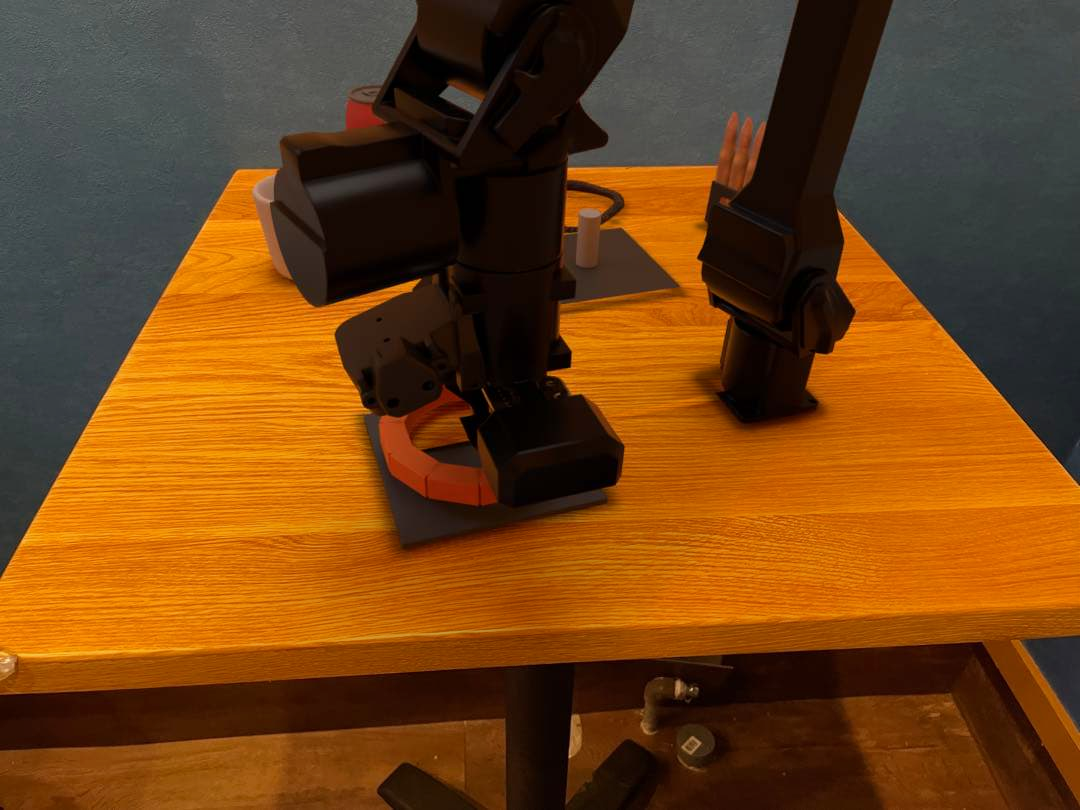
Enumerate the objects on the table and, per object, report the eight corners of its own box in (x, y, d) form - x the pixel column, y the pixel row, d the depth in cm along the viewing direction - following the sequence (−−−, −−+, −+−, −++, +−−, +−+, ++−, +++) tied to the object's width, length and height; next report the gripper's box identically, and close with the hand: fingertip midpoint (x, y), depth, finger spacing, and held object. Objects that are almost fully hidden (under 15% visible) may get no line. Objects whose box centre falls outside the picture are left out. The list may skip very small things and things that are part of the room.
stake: (680, 294, 73) (689, 234, 70) (543, 314, 70) (546, 252, 66) (621, 234, 83) (626, 179, 80) (498, 249, 80) (498, 192, 76)
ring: (600, 480, 51) (602, 460, 50) (405, 523, 47) (403, 502, 46) (535, 373, 60) (535, 355, 59) (367, 403, 56) (365, 383, 55)
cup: (337, 233, 81) (327, 154, 77) (396, 256, 78) (389, 174, 73) (248, 272, 74) (231, 188, 69) (309, 299, 71) (295, 212, 66)
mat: (607, 502, 51) (608, 497, 51) (402, 549, 48) (402, 544, 47) (538, 387, 61) (538, 383, 61) (364, 419, 57) (363, 414, 57)
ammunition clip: (796, 261, 79) (825, 138, 72) (783, 266, 79) (812, 142, 71) (714, 223, 86) (734, 107, 79) (702, 227, 85) (721, 110, 78)
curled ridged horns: (583, 149, 91) (651, 172, 85) (578, 196, 94) (644, 222, 88) (490, 164, 83) (559, 192, 77) (488, 216, 86) (554, 246, 80)
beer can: (386, 192, 90) (377, 78, 83) (431, 207, 87) (425, 91, 80) (342, 210, 86) (327, 92, 79) (387, 227, 83) (377, 106, 76)
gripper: (312, 192, 45) (344, 419, 54) (374, 379, 31) (403, 642, 40) (507, 172, 48) (505, 390, 57) (645, 333, 34) (613, 587, 43)
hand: (503, 485), depth 49 cm, fingers closed on ring, 2 cm apart
